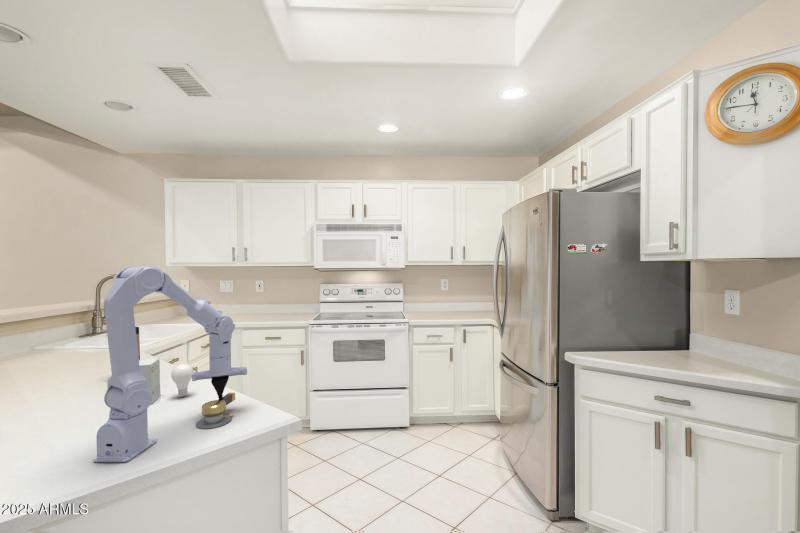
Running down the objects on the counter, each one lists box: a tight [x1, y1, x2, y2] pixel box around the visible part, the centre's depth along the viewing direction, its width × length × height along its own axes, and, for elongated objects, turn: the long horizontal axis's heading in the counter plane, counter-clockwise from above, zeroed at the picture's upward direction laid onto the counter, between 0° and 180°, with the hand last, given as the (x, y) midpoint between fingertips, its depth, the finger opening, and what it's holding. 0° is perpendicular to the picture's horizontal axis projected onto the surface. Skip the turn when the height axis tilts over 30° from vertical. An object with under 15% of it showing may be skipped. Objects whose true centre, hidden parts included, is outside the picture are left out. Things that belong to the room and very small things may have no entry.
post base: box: [195, 413, 235, 430], centre depth 98 cm, size 9×9×2 cm
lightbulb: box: [170, 363, 194, 398], centre depth 118 cm, size 6×6×11 cm
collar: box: [201, 392, 236, 418], centre depth 101 cm, size 12×6×2 cm, turn 176°
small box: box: [139, 358, 161, 406], centre depth 114 cm, size 8×6×13 cm
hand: (220, 401), depth 104 cm, fingers closed, pressing on collar
